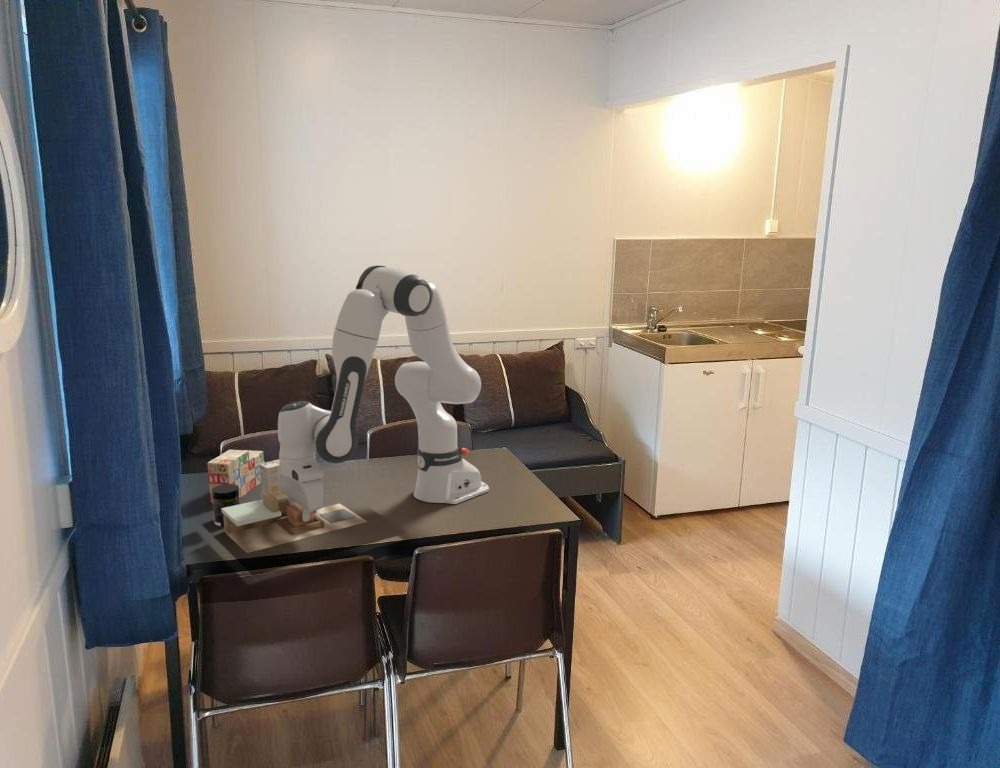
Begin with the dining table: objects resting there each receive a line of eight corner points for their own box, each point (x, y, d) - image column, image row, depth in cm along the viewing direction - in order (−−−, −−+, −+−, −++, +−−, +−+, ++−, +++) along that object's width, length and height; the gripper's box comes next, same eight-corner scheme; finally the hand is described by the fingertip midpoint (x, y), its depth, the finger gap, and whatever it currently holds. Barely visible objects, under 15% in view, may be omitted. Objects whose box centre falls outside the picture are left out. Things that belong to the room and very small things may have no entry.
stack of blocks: (247, 478, 240) (244, 440, 237) (266, 480, 238) (263, 441, 236) (209, 503, 219) (206, 461, 216) (230, 505, 218) (227, 463, 215)
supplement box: (288, 501, 221) (285, 457, 219) (296, 505, 218) (294, 461, 215) (261, 508, 216) (258, 463, 213) (269, 513, 212) (267, 467, 210)
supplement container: (247, 524, 205) (244, 486, 203) (228, 533, 199) (225, 494, 197) (227, 519, 208) (225, 482, 206) (208, 528, 202) (205, 490, 200)
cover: (264, 502, 201) (263, 487, 200) (281, 515, 193) (280, 500, 192) (221, 512, 194) (220, 497, 194) (237, 526, 186) (236, 510, 185)
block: (305, 520, 204) (304, 502, 203) (313, 526, 200) (313, 507, 199) (287, 524, 201) (286, 506, 200) (295, 530, 197) (294, 512, 196)
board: (339, 508, 216) (338, 485, 215) (367, 527, 204) (367, 502, 203) (224, 536, 197) (222, 511, 196) (247, 558, 185) (245, 532, 183)
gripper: (269, 457, 203) (272, 506, 206) (302, 478, 188) (305, 532, 191) (292, 452, 207) (295, 501, 210) (326, 473, 191) (328, 526, 194)
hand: (300, 516), depth 200 cm, fingers closed on block, 5 cm apart
